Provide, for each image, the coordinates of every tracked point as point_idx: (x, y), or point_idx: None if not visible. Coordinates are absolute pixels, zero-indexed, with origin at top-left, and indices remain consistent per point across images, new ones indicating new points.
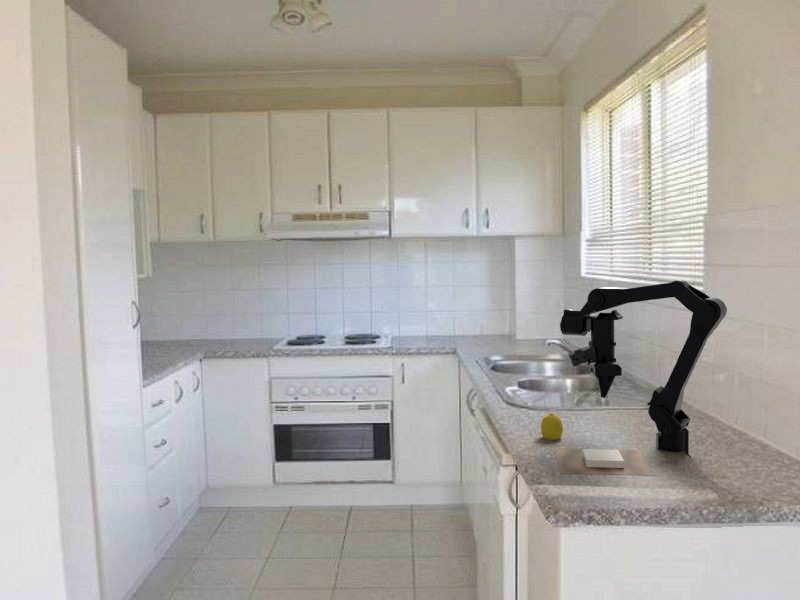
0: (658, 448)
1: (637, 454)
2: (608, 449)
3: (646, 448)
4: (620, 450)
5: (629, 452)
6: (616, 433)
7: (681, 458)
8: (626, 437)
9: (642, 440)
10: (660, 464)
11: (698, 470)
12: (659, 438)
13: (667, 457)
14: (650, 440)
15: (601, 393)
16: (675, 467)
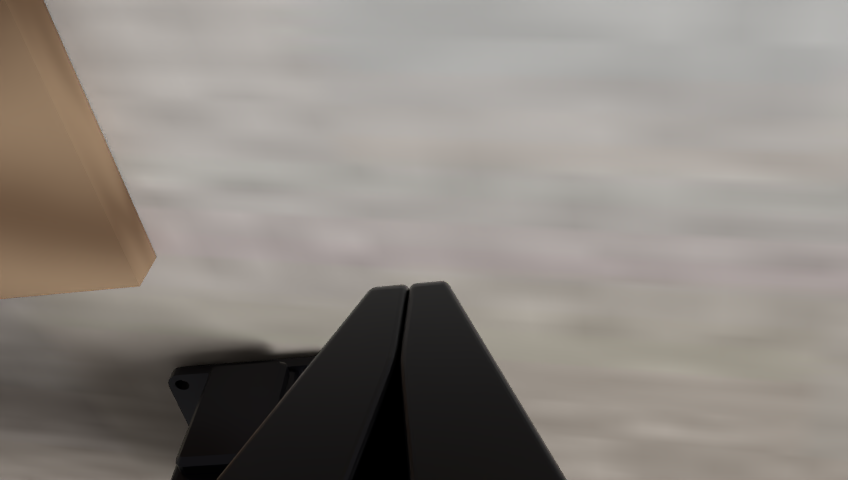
0: (205, 388)
1: (14, 264)
2: (29, 58)
3: None
4: (56, 156)
5: (33, 217)
6: (798, 125)
7: None
8: (658, 198)
9: (575, 295)
10: (39, 345)
11: (38, 475)
12: (178, 453)
13: None
14: (579, 339)
15: (328, 359)
16: (27, 402)
